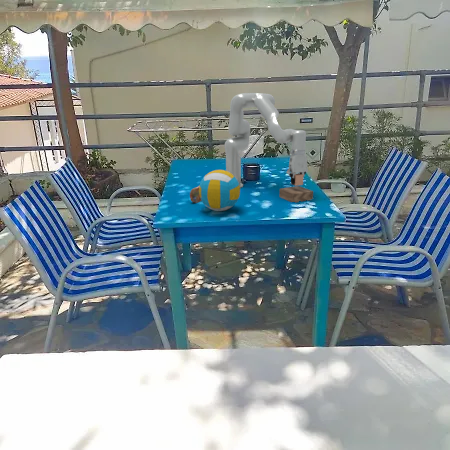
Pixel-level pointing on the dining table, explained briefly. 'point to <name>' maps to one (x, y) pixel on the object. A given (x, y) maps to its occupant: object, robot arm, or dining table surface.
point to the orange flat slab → (195, 195)
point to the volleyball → (219, 190)
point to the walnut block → (296, 194)
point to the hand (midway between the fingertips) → (296, 183)
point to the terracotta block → (298, 179)
